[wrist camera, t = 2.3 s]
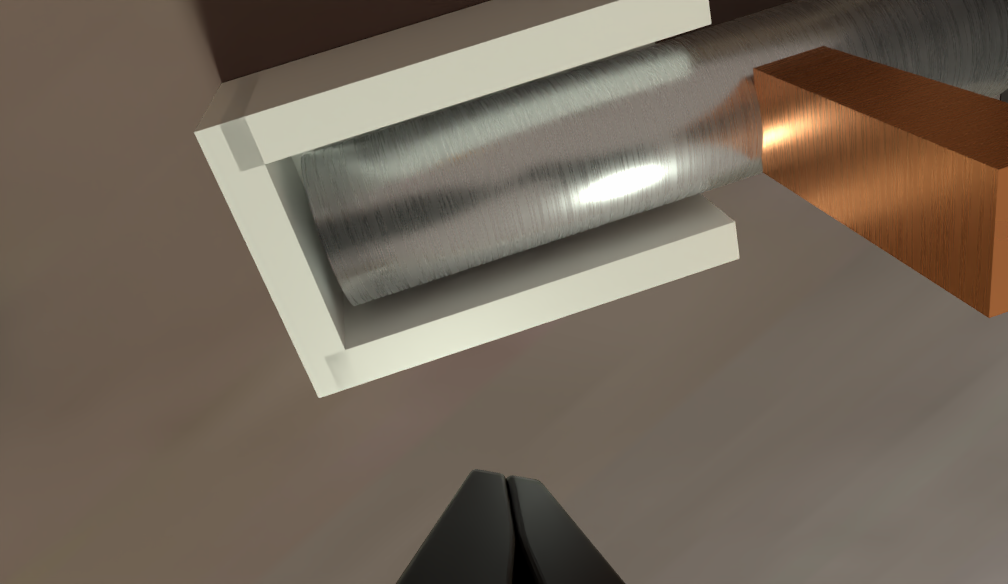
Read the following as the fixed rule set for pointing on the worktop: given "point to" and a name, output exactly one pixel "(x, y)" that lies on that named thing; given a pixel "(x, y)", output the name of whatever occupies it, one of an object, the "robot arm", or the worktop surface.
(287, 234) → the open tray
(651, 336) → the worktop surface
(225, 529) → the worktop surface
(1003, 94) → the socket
